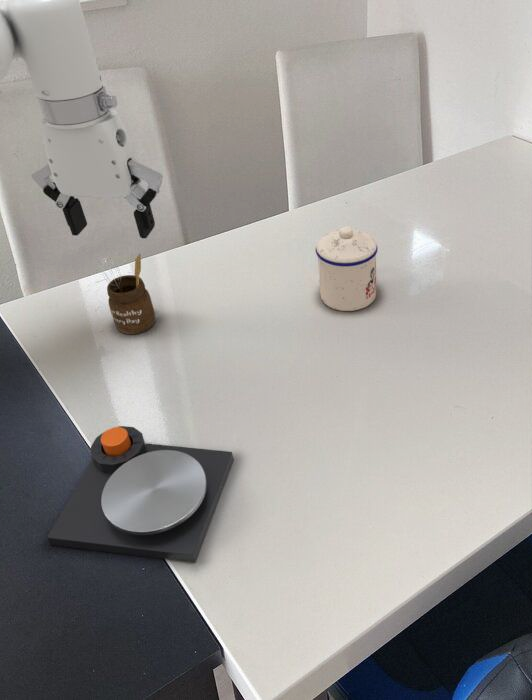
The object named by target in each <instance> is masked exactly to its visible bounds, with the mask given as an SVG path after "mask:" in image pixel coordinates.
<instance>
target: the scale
mask: <svg viewBox="0 0 532 700" xmlns="http://www.w3.org/2000/svg"><path fill="white" fill-rule="evenodd" d="M118 427H121V428H124V429H125V430H126V431H127V433H128V436H129V438H130V441H131V447H130V449H129V450H128V451H127V452H125V453H124V454H122V455H118V456H109V455H107V454H106V453H105V451H104V448H103V445H102V443H101V436H102V435H103V433H104V432H102V433H100V434H99V435H98V436H97V437H96V438H95V439H94V440H93V443H91V445H90V447H89V448H90V456H91V460H90V462H89V464H88V466H87V468H86V469H85V471H84V472H83V474H82V476H81V478H80V479H79V481H78V483H77V485H76V487H75V488H74V490H73V491H72V493H71V495H70V496H69V498H68V499H67V501H66V503H65V505H64V507H63V508H62V510H61V512H60V514H59V516H58V517H57V519H56V521H55V522H54V524H53V526H52V528H51V529H50V530H49V533H48V535H47V536H46V539H47V540H48V542H49V544H50V545H51V546H57V547H64V548H73V549H79V550H80V549H82V550H89V551H97V552H104V553H105V552H106V553H113V554H120V555H121V554H122V555H130V556H139V557H147V558H152V559H153V558H154V559H162V560H171V561H179V562H185V563H196V562H197V559H198V556H199V554H200V551H201V549H202V546H203V543H204V540H205V538H206V535H207V533H208V530H209V527H210V524H211V522H212V519H213V516H214V514H215V511H216V508H217V506H218V503H219V500H220V498H221V494H222V493H223V489H224V487H225V485H226V482H227V479H228V476H229V473H230V471H231V469H232V465H233V463H234V460H235V459H234V455H233V452H232V451H229V450H228V451H226V450H217V449H206V448H195V447H185V446H177V445H176V446H175V445H166V444H156V443H146V441H145V437H144V435H143V433H142V431H140V430H139V429H137V428H136V427H133V426H125V425H119V426H118ZM109 429H110V428H108V429H107V430H109ZM107 430H105V431H107ZM159 450H173V451H179V452H182V453H185V454H188V455H190V456H191V457H193V458H194V459H195V460H197V461H198V462H199V463H200V465H201V466H202V468H203V470H204V472H205V476H206V481H207V487H206V493H205V496H204V498H203V501H202V503H201V504H200V506H199V507H198V509H197V510H196V511H195V512H194V513H193V514H192V515H191V516H190V517H189V518H188V519H187V520H185V521H184V522H182V523H181V524H179V525H178V526H176V527H174V528H172V529H169V530H167V531H164V532H161V533H157V534H151V535H134V534H129V533H125V532H123V531H121V530H118V529H117V528H115V527H114V526H113V525H112V524H111V523H110V522H109V521H108V520H107V518H106V517H105V514H104V512H103V509H102V505H101V498H102V493H103V489H104V487H105V485H106V483H107V481H108V480H109V478H110V477H111V476H112V474H113V473H114V472H115V471H116V470H117V469H118V468H119V467H121V466H122V465H123V464H125V463H126V462H128V461H129V460H131V459H133V458H135V457H137V456H139V455H142V454H145V453H148V452H153V451H159Z"/></svg>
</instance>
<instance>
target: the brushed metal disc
mask: <svg viewBox="0 0 532 700" xmlns="http://www.w3.org/2000/svg"><path fill="white" fill-rule="evenodd" d="M206 487H207V481H206V476H205V472H204V470H203V468H202V466H201V465H200V463H199V462H198V461H197V460H195V459H194V458H193V457H191V456H190V455H188V454H185V453H182V452H179V451H173V450H159V451H153V452H148V453H145V454H142V455H139V456H137V457H135V458H133V459H131V460H129V461H128V462H126V463H125V464H123V465H122V466H121V467H119V468H118V469H117V470H116V471H115V472H114V473H113V474H112V476H111V477H110V478H109V480H108V481H107V483H106V485H105V487H104V489H103V493H102V498H101V505H102V509H103V512H104V514H105V517H106V518H107V520H108V521H109V522H110V523H111V524H112V525H113V526H114V527H115V528H117V529H118V530H121V531H123V532H125V533H129V534H134V535H151V534H157V533H161V532H164V531H167V530H169V529H172V528H174V527H176V526H178V525H179V524H181V523H182V522H184V521H185V520H187V519H188V518H189V517H190V516H191V515H192V514H193V513H194V512H195V511H196V510H197V509H198V507H199V506H200V504H201V503H202V501H203V498H204V496H205V493H206Z"/></svg>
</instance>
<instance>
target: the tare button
mask: <svg viewBox="0 0 532 700" xmlns="http://www.w3.org/2000/svg"><path fill="white" fill-rule="evenodd" d="M108 429H109V430H108ZM108 429H107V431H106V430H105V431H103V432H102V433H103V435H102V436H101V443H102V445H103V448H104V451H105V453H106V454H107V455H109V456H118V455H122V454H124V453H125V452H127V451H128V450H129V449H130V447H131V441H130V438H129V436H128V433H127V431H126V430H125V429H124V428H121V427H119V426H115V427H111V428H108Z"/></svg>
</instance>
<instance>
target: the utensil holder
mask: <svg viewBox="0 0 532 700" xmlns="http://www.w3.org/2000/svg"><path fill="white" fill-rule="evenodd" d="M107 260H108V261H110V263H111V264H112V266H113V267H114V270H115V273H116V276H117V277H116V276H115V274H114V272H113V270H112V269H111V267H108V265H109V264H108V262H107ZM101 263H104V264H105V266H106V268H107V270H108V272H109V273H111V274H112V275H111V277H112V280H110V278H109V277H108V274H107V272H106V270H105V267H104V266H101ZM99 267H100V268H99V270H100V272H101V274H102V276H103V278H104V279H106V278H107V279H108V284H107V287H106V293H107V296H108V307H109V312H110V315H111V317H112V321H113V323H114V325H115V327H116V329H117V330H118V331H119V332H121V333H122V334H126V335H137V334H141V333H143V332H145V331H146V332H147V331H148V330H149V329H150V328H152V327H153V325H154V324H155V321H156V313H155V309H154V304H153V301H152V297H151V294H150V293H149V291H148V290H147V288H146V285H145V283H144V280H143V278H141V277H140V274H141V272H142V255H141V252H139V253H138V255H137V256H136V258H135V259H134V275H133V274H127V275H121V273H120V272H121V271H120V269H119V266H118V264H117V263H116V261H115V260H114V259H113V258H110V257H105V258H102V259H101V260H100V262H99ZM110 270H111V271H110ZM117 270H118V271H117ZM102 271H103V272H102ZM118 274H119V276H118ZM113 276H114V277H113Z"/></svg>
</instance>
